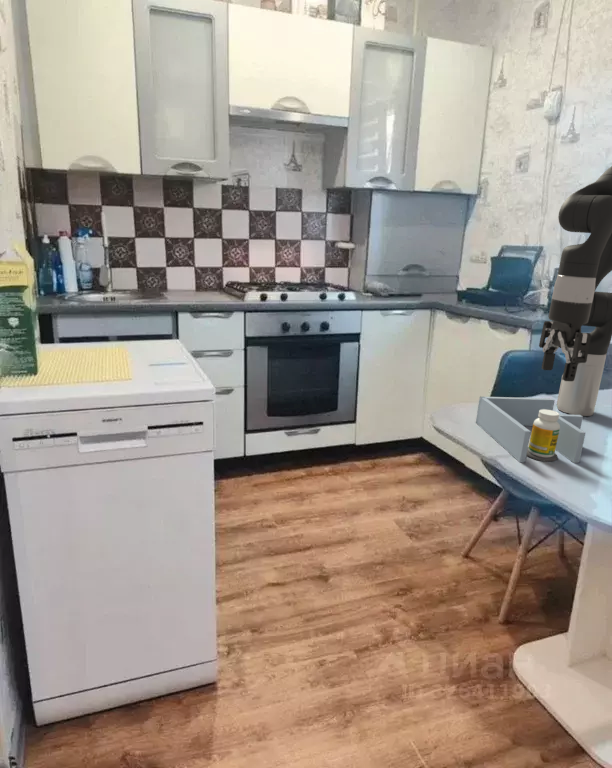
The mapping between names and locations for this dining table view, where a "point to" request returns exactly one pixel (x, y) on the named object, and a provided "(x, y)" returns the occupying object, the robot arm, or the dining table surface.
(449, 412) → the dining table surface
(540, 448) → the supplement bottle
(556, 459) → the pad
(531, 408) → the channel
